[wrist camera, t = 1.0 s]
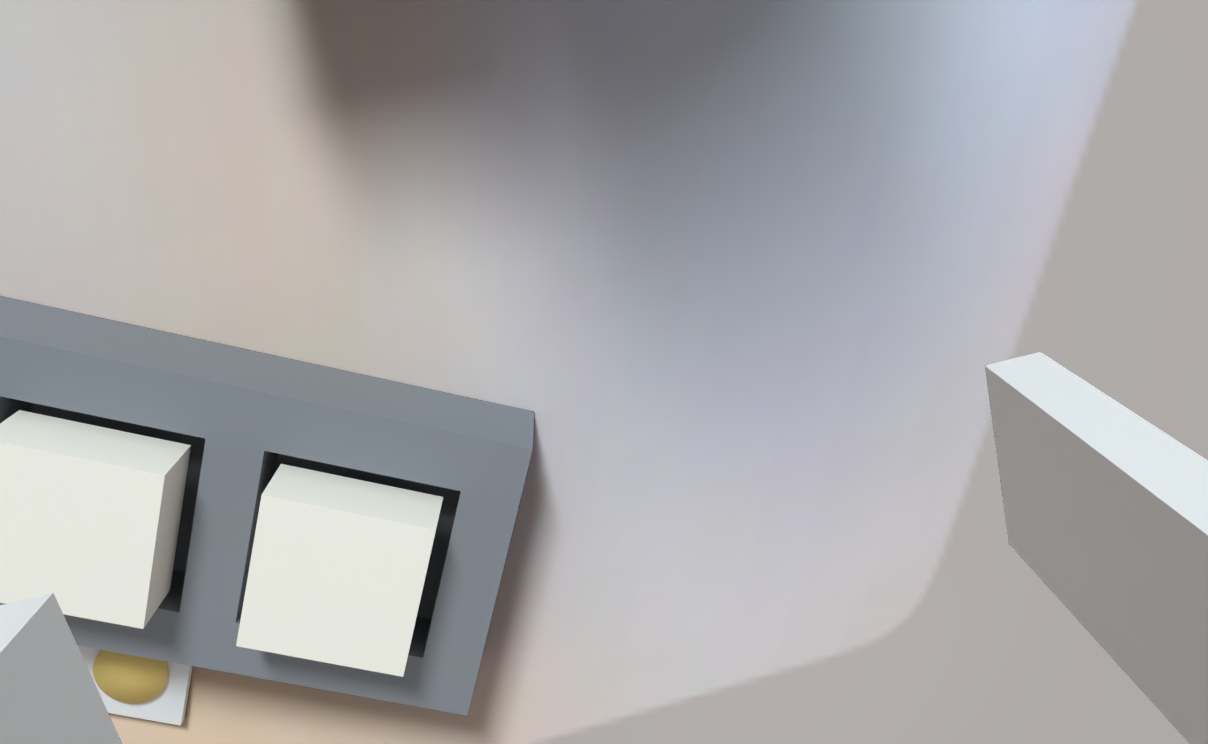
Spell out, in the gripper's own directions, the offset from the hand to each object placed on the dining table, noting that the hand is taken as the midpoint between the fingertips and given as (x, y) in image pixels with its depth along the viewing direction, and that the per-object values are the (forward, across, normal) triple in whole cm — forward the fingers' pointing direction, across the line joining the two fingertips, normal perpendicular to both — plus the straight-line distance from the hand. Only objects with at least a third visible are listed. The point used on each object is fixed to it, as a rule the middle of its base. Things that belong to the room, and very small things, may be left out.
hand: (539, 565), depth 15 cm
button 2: (+19, -16, -4) cm, 24 cm away
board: (+22, -16, -4) cm, 27 cm away
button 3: (+19, -8, -7) cm, 22 cm away
